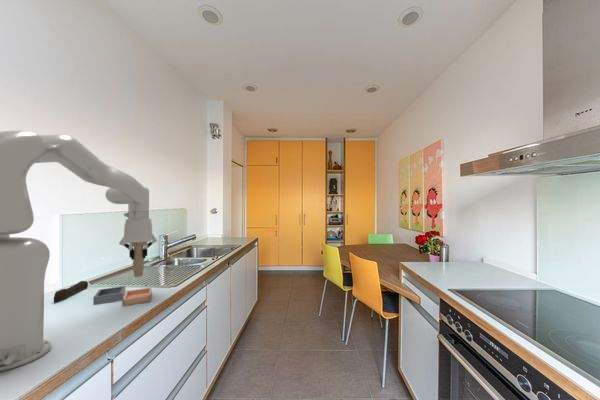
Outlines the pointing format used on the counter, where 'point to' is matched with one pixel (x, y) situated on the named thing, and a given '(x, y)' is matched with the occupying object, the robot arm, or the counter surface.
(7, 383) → the counter surface
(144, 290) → the tray
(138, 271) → the handle
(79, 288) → the hand tool
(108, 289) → the collar
